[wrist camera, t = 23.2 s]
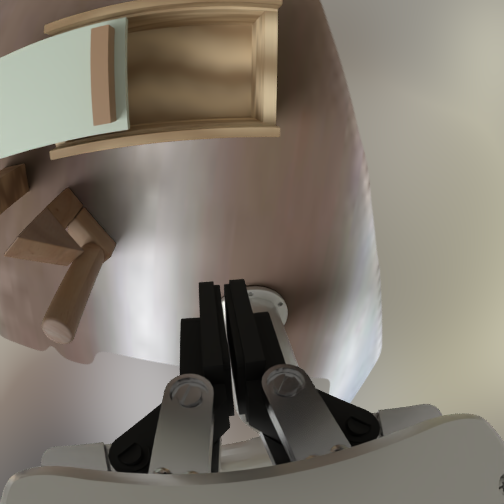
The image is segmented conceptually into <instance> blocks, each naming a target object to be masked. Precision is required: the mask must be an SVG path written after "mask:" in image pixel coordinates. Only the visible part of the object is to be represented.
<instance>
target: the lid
mask: <svg viewBox="0 0 504 504" xmlns="http://www.w3.org/2000/svg"><path fill="white" fill-rule="evenodd" d="M127 33H128V19H127V18H126V17H124V18H119V19H114V20H110V21H105V22H101V23H97V24H93V25H89V26H85V27H81V28H78V29H74V30H71V31H68V32H65V33H62V34H58V35H55V36H53V37H50V38H47V39H44V40H41V41H39V42H36V43H34V44H31V45H29V46H26V47H24V48H21V49H19V50H17V51H15V52H12V53H10V54H8V55H6V56H4V57H2V58H0V159H1V158H4V157H7V156H11V155H14V154H17V153H21V152H24V151H28V150H31V149H35V148H39V147H43V146H47V145H51V144H55V143H59V142H63V141H68V140H73V139H77V138H82V137H87V136H93V135H98V134H104V133H110V132H116V131H122V130H128V129H130V121H129V105H128V80H127Z"/></svg>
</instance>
